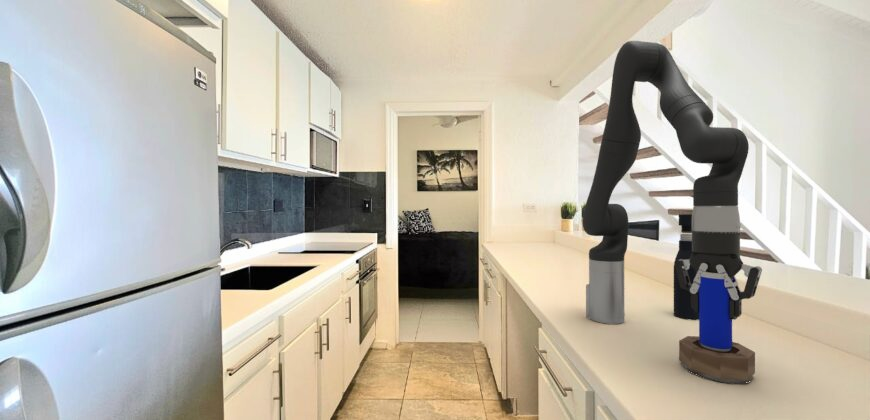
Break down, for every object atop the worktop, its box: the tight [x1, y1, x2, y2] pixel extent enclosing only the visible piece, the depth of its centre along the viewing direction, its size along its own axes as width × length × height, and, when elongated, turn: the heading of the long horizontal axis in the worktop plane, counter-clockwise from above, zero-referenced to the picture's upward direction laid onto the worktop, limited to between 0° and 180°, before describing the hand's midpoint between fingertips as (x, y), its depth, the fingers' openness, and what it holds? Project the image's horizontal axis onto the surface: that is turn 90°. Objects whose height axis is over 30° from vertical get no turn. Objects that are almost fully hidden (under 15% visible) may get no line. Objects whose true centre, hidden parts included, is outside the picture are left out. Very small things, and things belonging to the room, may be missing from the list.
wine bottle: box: [673, 213, 699, 321], centre depth 107 cm, size 6×6×30 cm
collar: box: [678, 335, 756, 384], centre depth 72 cm, size 11×11×5 cm
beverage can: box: [698, 272, 733, 352], centre depth 72 cm, size 5×5×15 cm
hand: (715, 314), depth 72 cm, fingers closed on beverage can, 5 cm apart
